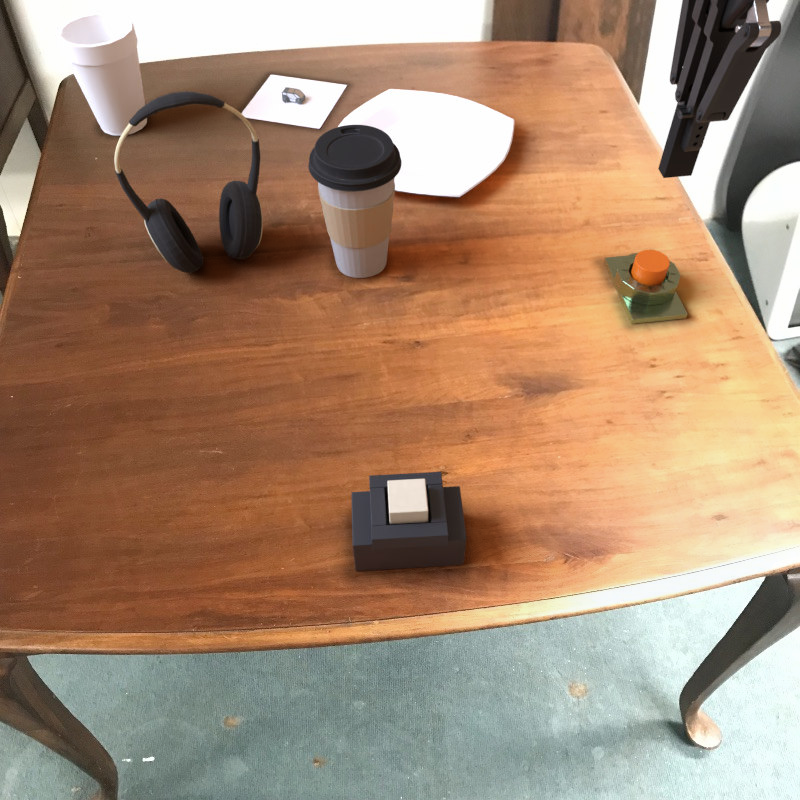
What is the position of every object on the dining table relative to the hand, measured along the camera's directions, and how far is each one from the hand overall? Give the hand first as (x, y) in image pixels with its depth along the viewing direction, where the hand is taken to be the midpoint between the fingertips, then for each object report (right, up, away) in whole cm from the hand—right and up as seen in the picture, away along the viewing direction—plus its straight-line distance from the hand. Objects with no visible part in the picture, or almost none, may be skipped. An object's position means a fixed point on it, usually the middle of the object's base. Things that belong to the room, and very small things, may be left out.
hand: (674, 171), depth 73 cm
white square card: (-41, +21, +38) cm, 60 cm away
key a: (-25, -30, -11) cm, 41 cm away
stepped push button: (-25, -33, -7) cm, 43 cm away
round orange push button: (+1, -8, +11) cm, 13 cm away
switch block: (+1, -9, +12) cm, 15 cm away
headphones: (-47, -5, +17) cm, 50 cm away
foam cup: (-64, +17, +35) cm, 75 cm away
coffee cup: (-30, -6, +16) cm, 35 cm away
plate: (-23, +11, +30) cm, 39 cm away
